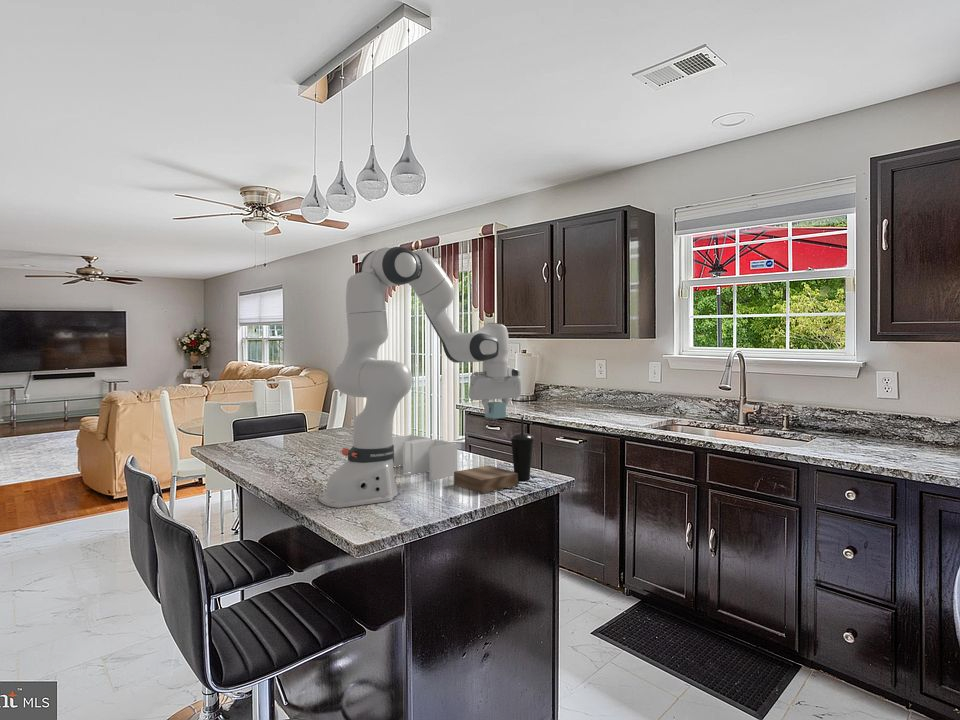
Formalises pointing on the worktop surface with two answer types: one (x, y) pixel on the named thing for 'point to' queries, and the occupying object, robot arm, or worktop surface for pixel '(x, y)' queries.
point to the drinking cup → (522, 453)
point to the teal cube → (496, 410)
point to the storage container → (425, 456)
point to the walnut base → (485, 479)
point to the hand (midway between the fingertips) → (495, 412)
